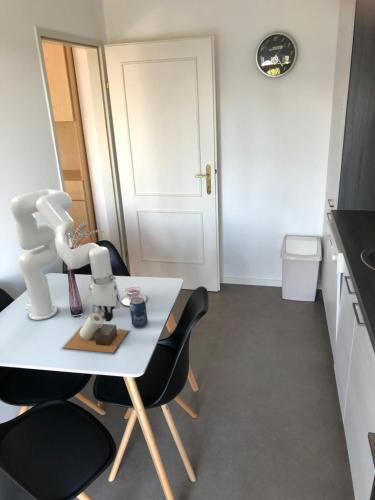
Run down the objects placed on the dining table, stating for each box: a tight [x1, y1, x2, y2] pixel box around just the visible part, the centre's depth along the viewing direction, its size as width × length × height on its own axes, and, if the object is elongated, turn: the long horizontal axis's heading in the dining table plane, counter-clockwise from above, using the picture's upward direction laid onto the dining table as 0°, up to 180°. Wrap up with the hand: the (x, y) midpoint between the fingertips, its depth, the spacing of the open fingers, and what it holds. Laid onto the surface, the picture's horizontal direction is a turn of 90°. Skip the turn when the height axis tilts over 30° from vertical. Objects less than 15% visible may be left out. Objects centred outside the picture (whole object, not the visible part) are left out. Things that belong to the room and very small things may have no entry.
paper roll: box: [80, 312, 104, 340], centre depth 172 cm, size 11×6×12 cm, turn 75°
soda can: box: [129, 297, 149, 329], centre depth 181 cm, size 7×7×12 cm
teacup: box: [121, 285, 147, 307], centre depth 204 cm, size 12×12×6 cm
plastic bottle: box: [88, 275, 105, 318], centre depth 190 cm, size 6×7×20 cm
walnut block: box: [94, 323, 118, 346], centre depth 172 cm, size 6×8×5 cm
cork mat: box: [62, 326, 129, 354], centre depth 174 cm, size 22×16×1 cm
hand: (109, 319), depth 169 cm, fingers closed
